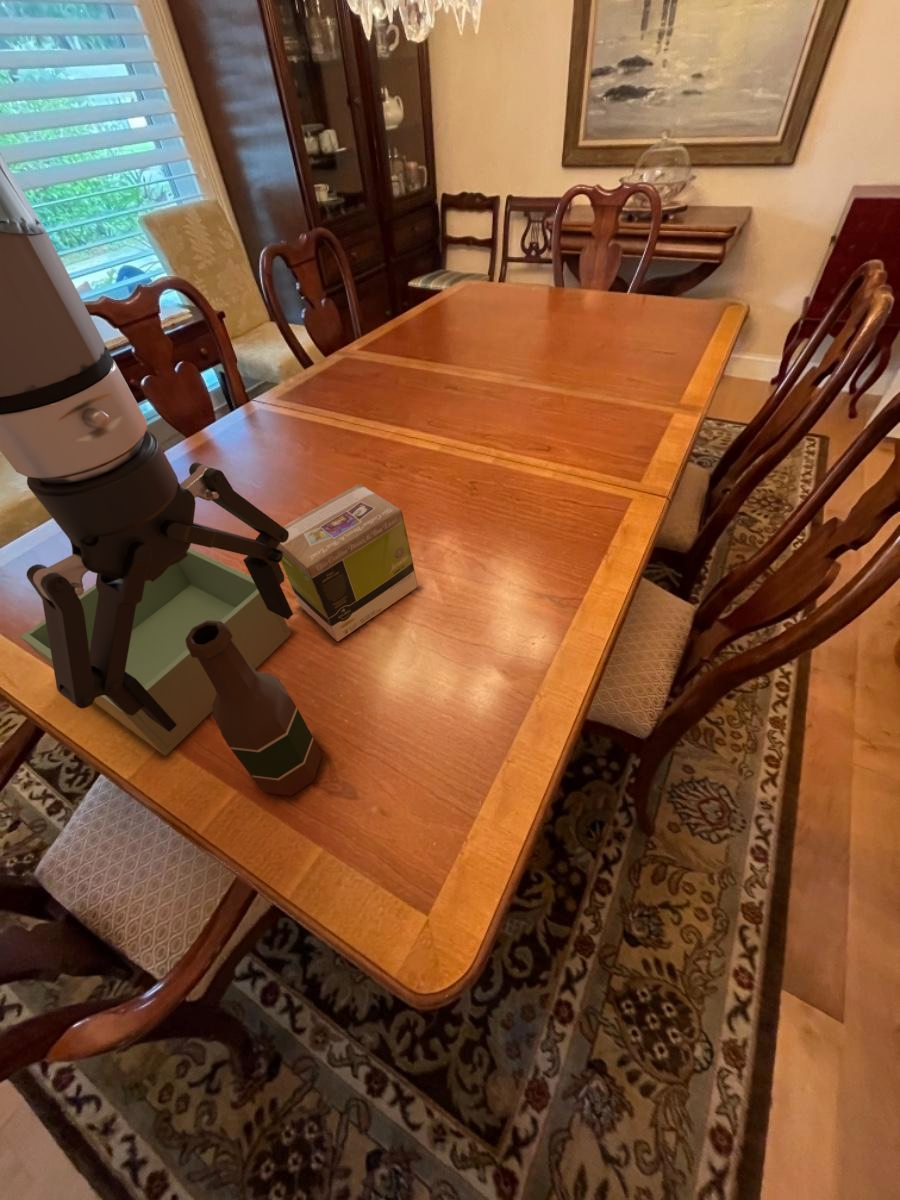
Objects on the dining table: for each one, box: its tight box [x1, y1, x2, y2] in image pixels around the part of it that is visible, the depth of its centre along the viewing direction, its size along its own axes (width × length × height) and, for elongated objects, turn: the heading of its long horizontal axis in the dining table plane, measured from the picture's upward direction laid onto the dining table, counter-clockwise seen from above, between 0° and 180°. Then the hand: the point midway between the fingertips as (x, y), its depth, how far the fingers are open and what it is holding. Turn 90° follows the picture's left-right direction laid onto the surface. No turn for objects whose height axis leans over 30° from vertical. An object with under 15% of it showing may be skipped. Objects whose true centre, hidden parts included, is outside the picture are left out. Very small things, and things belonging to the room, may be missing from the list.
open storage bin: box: [19, 547, 292, 757], centre depth 71 cm, size 22×22×10 cm
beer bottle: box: [185, 620, 323, 797], centre depth 53 cm, size 8×8×24 cm
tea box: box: [276, 483, 419, 642], centre depth 74 cm, size 15×10×15 cm
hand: (226, 662), depth 48 cm, fingers open, 13 cm apart
